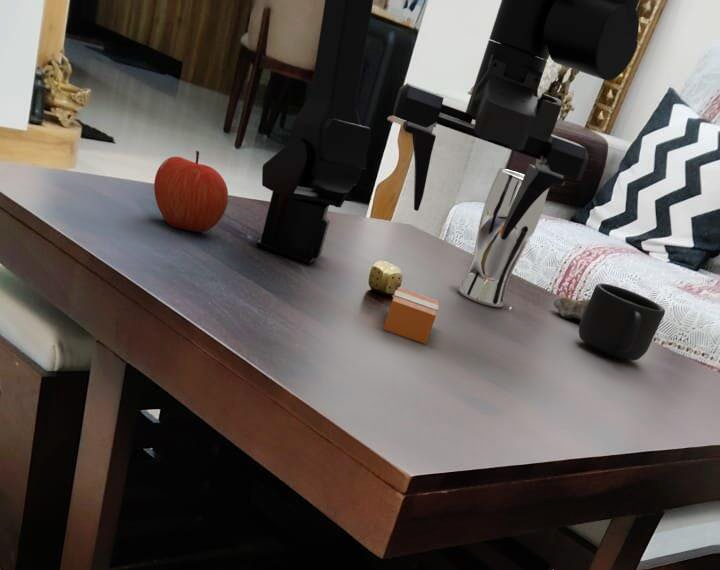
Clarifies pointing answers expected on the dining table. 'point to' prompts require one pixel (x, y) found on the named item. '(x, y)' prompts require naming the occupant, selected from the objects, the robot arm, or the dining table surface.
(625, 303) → the mug
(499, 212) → the silver metal vase
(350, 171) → the robot arm
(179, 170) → the apple
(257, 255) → the dining table surface
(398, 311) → the small cardboard box
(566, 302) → the rock
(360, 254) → the dining table surface
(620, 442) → the dining table surface
